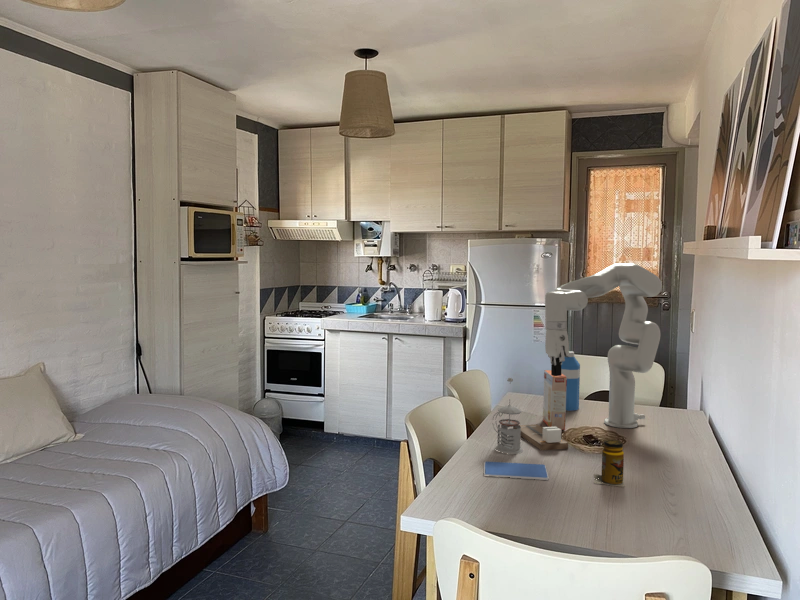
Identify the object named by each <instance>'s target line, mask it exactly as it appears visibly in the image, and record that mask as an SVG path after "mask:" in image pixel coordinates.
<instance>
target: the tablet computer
mask: <svg viewBox="0 0 800 600" xmlns="http://www.w3.org/2000/svg"><path fill="white" fill-rule="evenodd" d="M483 473H484V475H489V476H499V477H498V478H500V477H510V478H509V479H517V478H521V480H534V479H535V480H537V481H539V480H540V481H549V479H550V477H549V473H548V470H547V465H546V464H542V463H541V464H540V463H539V464H538V463H525V462H523V463H522V462H521V463H520V462H505V461H504V462H503V461H483Z"/></svg>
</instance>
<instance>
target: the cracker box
mask: <svg viewBox="0 0 800 600" xmlns="http://www.w3.org/2000/svg"><path fill="white" fill-rule="evenodd" d="M566 387H567V377H566V376H565V375H563V374H562V373H561V376H553V375H551V369H549V370H548V369H546V370H544V373H543V399H542V400H543V401H542V402H543V405H542V421H543V422H544V424H546V427H558V428H559V429H561V431H562V430H563V431H565V430H566V414H567V413H566V411H567V410H566Z"/></svg>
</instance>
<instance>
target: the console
mask: <svg viewBox="0 0 800 600" xmlns="http://www.w3.org/2000/svg"><path fill="white" fill-rule="evenodd" d="M519 425H520V426H521V433H520V435H521V437H522V439H524V440H526V441H527V442H529V443H530V444H531V445H533V446H534V447H535V448H537V449H539V450H540V451H552V450H553V451H556V450H568V449H569V442H568V441H566V440H564V439H562V438H561V442H552V443H547V442H546V441H544V440H543V439H542V438H543V427H544V426H541V425H540V424H538V423H537V424H536V423H535V424H534V423H533V424H519ZM512 428H514V429H517V428H516V427H512ZM521 437H520V438H521Z"/></svg>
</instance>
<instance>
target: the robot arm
mask: <svg viewBox="0 0 800 600" xmlns="http://www.w3.org/2000/svg"><path fill="white" fill-rule="evenodd" d="M618 287H619V291H620V293H621V294H622V296H623V299H624V304H625V307H624V312H623V315H622V319H621V322H620V326H619V329H618V337H619V339H620V340H621V341H622V342H624V343H627V344H633V345H638V346H637V347H635V346H631V345H626V344H625V345H624V344H615V345H614V346H612V347H611V348H610V349H609V350H608V351H607V363H608V368H609V389H608V391H609V394H608V417H606V418H604V421H603V422H604V424H605V425H606V426H610V427H613V428H620V429H632V428H633V429H634V428H637V427H638V426H639V422H638V420H645V419H646V415H645V414H643V413H641V414H638V413H636V412H635V397H636V395H635V394H636V392H635V391H636V379H635V375H634V374H633V372H634V373H638V374H646V373H648V372H649V371H650V370H651V369H652V367H653V365H654V362H655V359H656V355H657V352H658V350H659V349H658V348H659V345H660V340H661V329H660V326H659V325H658V323H655V322H653V321H650V320H647V317H648V313H649V308H648V304H647V302H646V300H645V297H647V298H652V297H656V296H658V295H659V294H661V291H662V289H663V288H662V287H663V285H662V281H661V279H660V278H659V276H658V275H656V274H655V273H654V272H651V271H650V270H648V269H647V268H644V267H642V266H641V265H638V264H637V263H636V264H635V263H613V264H611V265H609V266H607V267H605V268H603V269H601V270H599V271H598V272H596V273H593V274H592V275H590V276H586V277H582V278H580V279H576V280H573V281H569V282H567V283H565V284H562V285H560V286H559V287H556V289H554V290H552V291H547V292H546V293H545V298H544V299H545V303H544V305H545V306H544V307H545V309H544V312H545V315H544V316H545V317H544V319H545V344H544V345H545V346H544V347H545V354H546V355H548V358H549V361H550V367H551V369H550V370H551V375H553V376H561V365H562V362H564V361H565V357H568V356H569V351H570V345H569V336H568V334H569V333H568V329H567V328H568V327H567V326H568V318H567V317H568V311H582V310H583V309H585V308H586V307H587V305H588V302H589V300H588V299H591V298H598V297H601V296H604V295H606V294H608V293H609V292H611V291H613V290H614V289H617V288H618Z"/></svg>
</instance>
